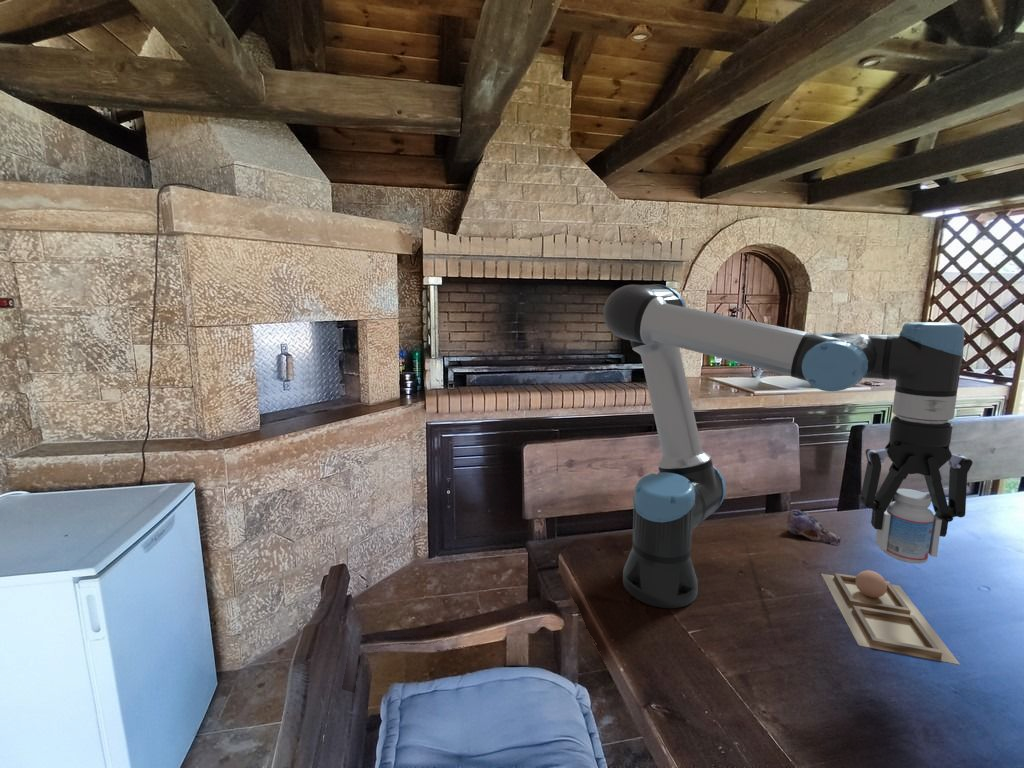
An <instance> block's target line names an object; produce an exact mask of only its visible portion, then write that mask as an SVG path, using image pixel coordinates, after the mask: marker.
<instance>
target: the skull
mask: <svg viewBox="0 0 1024 768" xmlns="http://www.w3.org/2000/svg"><path fill="white" fill-rule="evenodd" d="M785 526H786V527H787V529H788V531H789V532H790V533H792V534H794V535H797V536H798V535H800V536H803V537H805V538H808V539H809V540H811V541H812V542H814V543H817V544H818V543H819V544H828V543H829V544H830V545H834V543H835V545H836V546H837V545H839V544H841V539H842V538H841V537H840V536H839V535H837V534H835V533H833V532H831V531H829V530H828V529H826V528H825V527H824V526H823V525H822V523H821V522H820V521H818V520H817V519H816V518H815V517H814V516H813V515H811V514H810V513H808V512H804V511H801V510H797V509H792V510H790V511H789V512H788V513H787V515H786V521H785Z"/></svg>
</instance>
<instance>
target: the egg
mask: <svg viewBox="0 0 1024 768" xmlns="http://www.w3.org/2000/svg"><path fill="white" fill-rule="evenodd" d="M855 576H856V586H857V588H858V589H859V590H860V591H861V592H862V593H863V594H864V595H866V596H869V597H872V598H878V597H881V596H883V595H884V594H885V593H886V591H887V584H886V581H887V580H885V577H883V576H882V575H881V574H879V573H878V572H876V571H873V570H867V569H866V570H863V571H860V572H859V573H857V575H855Z"/></svg>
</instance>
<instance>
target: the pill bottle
mask: <svg viewBox="0 0 1024 768" xmlns="http://www.w3.org/2000/svg"><path fill="white" fill-rule="evenodd" d="M893 499H894V500H892V501H891V502H890V504H889V506H888V508H887V511H888V513H889V514H890V515H891V518H890V526H889V534H888V543H887V551H886V550H882V551H883V553H884V554H885V555H887V556H889V557H890V558H892V559H895V560H896V561H900V562H903V563H908V564H924V563H926V562H927V561H928V558H929V555H930V554H929V547H930V541H931V534H932V528H933V522H934V514H935V513H934V512H933V511H932V510H931V509H930V508H929V507H930V506H931V503H932V501H931V497H930V494H928V493H926V492H923V491H921V490H920V491H919V490H915V489H912V488H910V489H909V488H898V490H897V492H896V494H895V495H894V497H893ZM933 513H934V514H933Z"/></svg>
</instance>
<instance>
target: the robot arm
mask: <svg viewBox="0 0 1024 768" xmlns="http://www.w3.org/2000/svg"><path fill="white" fill-rule="evenodd" d="M602 313H603V321H604V323H605V325H606V328H607V329H608V330H609V331H610V333H611V334H613V335H614V336H615V337H617V338H620V339H623V340H626V341H627V340H628V341H630V344H631V348H632V350H633V351H634V352H635V353H637V354H638V355H640V358H641V362H642V366H643V371H644V376H645V382H646V386H647V390H648V394H649V400H650V405H651V408H652V412H653V418H654V421H655V426H656V430H657V431H656V432H657V436H658V439H659V445H660V448H661V453H662V457H661V458H660V460H659V461H658V462H657V466H658V472H657V473H649V474H647V475H645V476H642V477H641V478H640V479H638V481H637V483H636V485H635V489H634V494H633V498H632V502H633V503H632V504H633V517H632V518H633V520H632V547H631V550H630V552H629V555H628V556H627V560H626V562H625V564H624V566H623V570H622V584H623V587H624V588H625V590H626V592H628V594H629V595H630V596H631V597H633V598H635V599H636V600H637V601H640V602H641V603H644V604H646V605H649V606H652V607H657V608H661V609H662V608H663V609H678V608H679V609H680V608H682V607H683V608H684V607H686V606H689V605H690V604H692V603H693V602H694V601H696V598H697V596H698V585H699V584H698V583H699V582H698V578H697V575H696V572H695V568H694V564H693V560H692V557H691V555H692V553H691V550H692V538H693V537H692V536H693V530H694V529H695V528H696V527H697V526H699V525H700V524H701V523H702V522H703V521H704V520H706V519H707V518H709V516H711V515H713V514H714V513H715V512H716V511H717V510H718V509H719V508H720V506H721V505H722V503H723V501H724V500H725V498H726V493H727V487H726V480H725V478H724V476H723V474H722V473H721V472H720V470H719V469H717V468H716V467H715V465H714V464H713V460H712V456H711V455H710V454H709V453H707V452H705V451H704V450H703V447H702V443H701V438H700V435H699V430H698V426H697V422H696V416H695V413H694V412H695V411H694V408H693V403H692V399H691V394H690V390H689V385H688V382H687V381H688V380H687V375H686V371H685V366H684V363H683V358H682V353H681V350H680V348H681V349H684V350H688V351H692V352H696V353H699V354H702V355H703V354H704V355H706V356H711V357H715V358H718V359H723V360H726V361H729V362H730V361H731V362H734V363H738V364H741V365H745V366H748V367H754V368H757V369H761V370H764V371H769V372H772V373H777V374H780V375H784V376H788V377H791V378H796V379H799V380H801V381H805V382H808V383H809V385H811V386H812V387H814V388H816V389H817V390H820V391H824V392H840V391H843V390H844V391H845V390H847V389H849V388H852V387H854V386H856V385H857V384H858V383H860V382H861V381H863V379H879V380H887V381H888V380H891V381H892V380H895V387H894V396H893V402H892V403H893V404H892V411H891V412H892V413H893V414H894V416H893V417H892V418H891V421H890V431H889V442H887V444H886V446H885V447H884V448H880V449H875V450H874V449H872V448H867V449H866V450H865V456H866V459H867V460H866V461H867V464H866V468H865V469H866V470H865V473H864V478H863V483H862V489H861V493H860V498H859V499H860V500H859V501H860V502H861V503H862V504H863V505H864V506H865V508H867V509H872V512H871V520H870V524H871V526H872V527H873V528H874V529H875V530H876V532H875V539H874V540H875V541H874V543H875V544H876V545H877V547H878V548H879V549H880V551H883V550H886V551H887V543H888V534H889V526H890V518H891V515H890V514H889V513H888V511H887V508H888V506H889V504H890V503H891V502H893V499H894V498H895V497H894V495H895V494H896V492H897V490H898V489H900V486H901V485H902V483H903V482H904V481H905V480H906V479H907V477H908V476H909V475H914V474H917V475H918V474H919V475H922V476H924V479H925V482H926V486H927V489H928V493H929V494H928V495H929V496H930V497H931V503H932V508H933V511H934V512H933V514H934V522H933V528H932V534H931V541H930V547H929V554H928V555H929V556H930V557H936V558H937V557H938V550H939V543H940V537H941V538H942V537H946V536H947V534H948V533H947V532H948V526H949V525H948V524H949V523H951V522H952V521H954V518H955V517H958V518H964V517H965V516H966V509H967V507H966V506H967V491H968V490H967V488H968V486H967V485H968V473H969V471H970V469H971V467H972V466H973V461H972V459H970V458H968V457H966V456H964V455H963V454H961V453H960V454H955V453H952V452H951V450H950V445H951V443H952V442H951V440H952V433H953V426H954V424H953V423H952V422H951V420H953V419H954V418H955V413H956V412H955V409H956V405H957V404H956V403H957V397H958V388H959V383H960V382H959V381H960V376H961V370H962V364H963V357H964V346H965V345H964V344H965V333H966V332H965V331H966V330H965V328H964V327H963V326H962V325H961V324H959V323H956V322H945V321H943V322H942V321H941V322H939V321H938V322H937V321H935V322H934V321H929V322H927V321H925V322H924V321H923V322H917V321H916V322H914V321H913V322H907V323H904V324H903V325H902V328H901V331H900V332H899V333H894V334H873V333H872V334H871V333H870V334H869V333H848V332H847V333H845V332H832V333H829V332H828V333H820V334H818V333H812V332H808V331H803V330H798V329H792V328H788V327H783V326H779V325H774V324H769V323H763V322H760V321H758V322H757V321H754V320H749V319H745V318H740V317H733V316H730V315H724V314H720V313H715V312H710V311H704V310H700V309H695V308H690V307H687V306H686V303H685V300H684V298H683V297H682V295H681V294H680V293H679V292H678V291H677V290H676V289H674V288H672V287H670V286H667V285H664V284H658V283H657V284H656V283H653V284H627V285H623V286H621V287H618V288H617V289H615V290H614V291H613V292H611V294H610V295H609V296H608V297H607V299H606V301H605V304H604V306H603V312H602ZM886 457H888V458H889V459H890V461H891V462H892V463H891V465H890V467H888V473H887V475H886V476H885V479H884V481H883V482H882V484H881V486H880V487H879V489H878V486H879V482H880V477H881V471H882V463H884V462H885V459H886ZM947 462H948V465H949V466H950V467H949V477H948V499H947V498H946V494H945V490H944V486H943V483H942V475H941V472H940V469H941V468H942V467H943V466H944V465H945V464H946V463H947ZM877 490H878V492H877ZM947 501H948V502H947Z"/></svg>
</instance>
